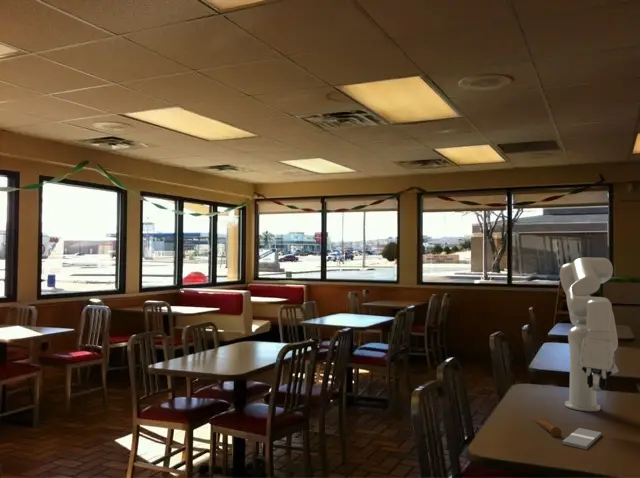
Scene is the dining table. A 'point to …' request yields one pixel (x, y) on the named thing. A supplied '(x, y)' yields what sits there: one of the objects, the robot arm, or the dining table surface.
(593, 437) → the panel
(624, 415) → the dining table surface
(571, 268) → the robot arm
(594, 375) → the steel peg
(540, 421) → the primitive tool
